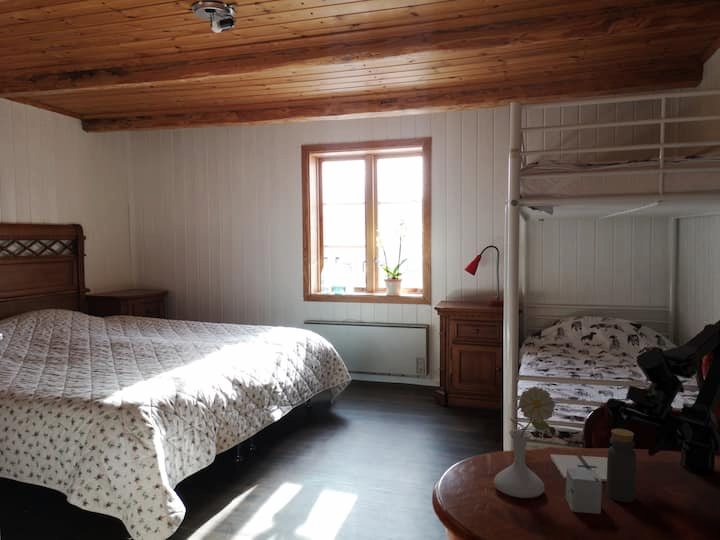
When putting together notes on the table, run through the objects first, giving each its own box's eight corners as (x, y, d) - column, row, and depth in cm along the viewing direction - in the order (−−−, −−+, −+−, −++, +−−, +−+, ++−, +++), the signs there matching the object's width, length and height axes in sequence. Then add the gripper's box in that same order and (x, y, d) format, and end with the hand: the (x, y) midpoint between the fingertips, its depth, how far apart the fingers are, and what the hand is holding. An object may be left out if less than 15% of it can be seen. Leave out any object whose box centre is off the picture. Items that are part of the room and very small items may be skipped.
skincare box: (564, 498, 120) (565, 466, 119) (593, 501, 119) (594, 468, 118) (571, 512, 114) (572, 478, 113) (601, 514, 113) (602, 480, 112)
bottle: (638, 503, 117) (640, 437, 117) (609, 501, 119) (612, 435, 118) (630, 491, 123) (632, 428, 122) (603, 489, 124) (605, 426, 124)
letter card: (607, 459, 142) (607, 457, 142) (628, 482, 128) (628, 480, 128) (550, 456, 143) (550, 454, 143) (563, 479, 130) (564, 476, 130)
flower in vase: (490, 497, 120) (492, 388, 118) (496, 477, 130) (499, 377, 129) (551, 509, 115) (554, 395, 114) (553, 486, 125) (556, 382, 124)
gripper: (611, 365, 132) (580, 415, 127) (688, 383, 116) (655, 441, 111) (629, 393, 136) (600, 442, 131) (706, 413, 120) (675, 470, 115)
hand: (630, 447), depth 122 cm, fingers open, 9 cm apart
